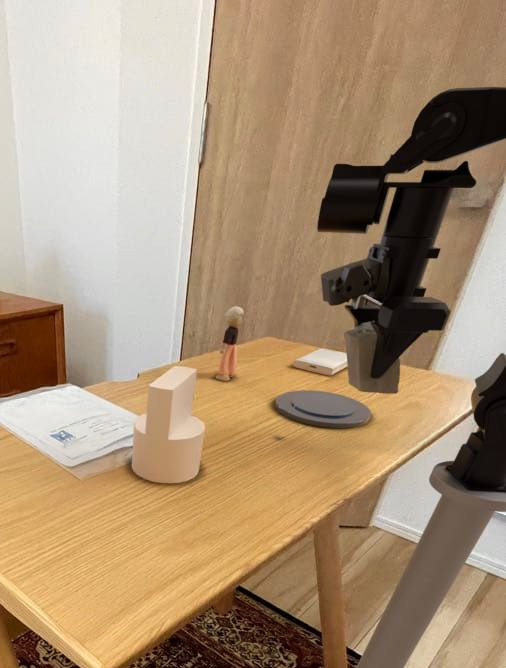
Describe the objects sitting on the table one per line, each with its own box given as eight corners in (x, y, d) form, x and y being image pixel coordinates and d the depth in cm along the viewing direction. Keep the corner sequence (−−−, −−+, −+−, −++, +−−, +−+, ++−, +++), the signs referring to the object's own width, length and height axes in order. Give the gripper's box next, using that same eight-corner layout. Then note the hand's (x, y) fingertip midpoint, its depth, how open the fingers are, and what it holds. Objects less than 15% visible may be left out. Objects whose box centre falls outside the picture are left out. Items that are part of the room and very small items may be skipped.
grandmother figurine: (233, 383, 93) (245, 311, 86) (212, 381, 94) (223, 309, 86) (237, 371, 99) (249, 303, 91) (217, 369, 100) (228, 301, 92)
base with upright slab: (147, 446, 71) (153, 361, 64) (207, 460, 67) (221, 372, 60) (120, 473, 64) (123, 381, 57) (185, 489, 61) (197, 395, 54)
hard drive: (320, 347, 108) (294, 358, 101) (357, 355, 104) (333, 367, 96) (318, 355, 109) (292, 367, 102) (355, 363, 105) (331, 376, 97)
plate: (351, 396, 89) (353, 390, 88) (383, 430, 76) (386, 423, 76) (267, 392, 89) (268, 386, 89) (286, 426, 77) (287, 419, 77)
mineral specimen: (366, 367, 72) (394, 312, 65) (398, 401, 66) (432, 345, 60) (319, 368, 71) (344, 313, 64) (348, 403, 65) (377, 346, 59)
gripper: (316, 229, 65) (289, 350, 75) (367, 243, 50) (325, 392, 60) (402, 230, 65) (364, 352, 74) (480, 244, 50) (420, 395, 59)
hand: (366, 370), depth 67 cm, fingers closed on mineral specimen, 6 cm apart
